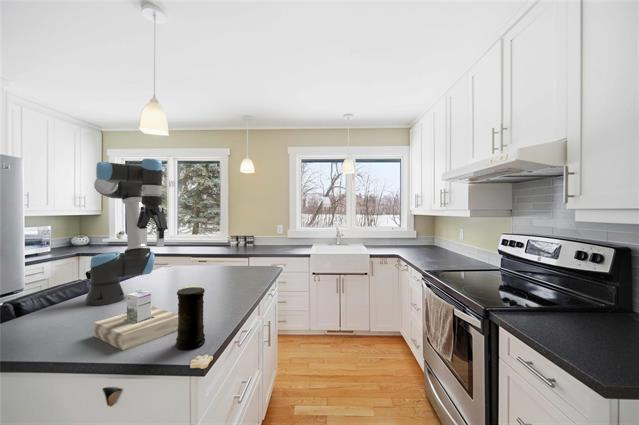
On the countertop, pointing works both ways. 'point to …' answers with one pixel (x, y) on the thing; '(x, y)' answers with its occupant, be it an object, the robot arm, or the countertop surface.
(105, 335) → the socket block
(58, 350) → the countertop surface
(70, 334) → the countertop surface
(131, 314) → the syrup box
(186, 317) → the container
